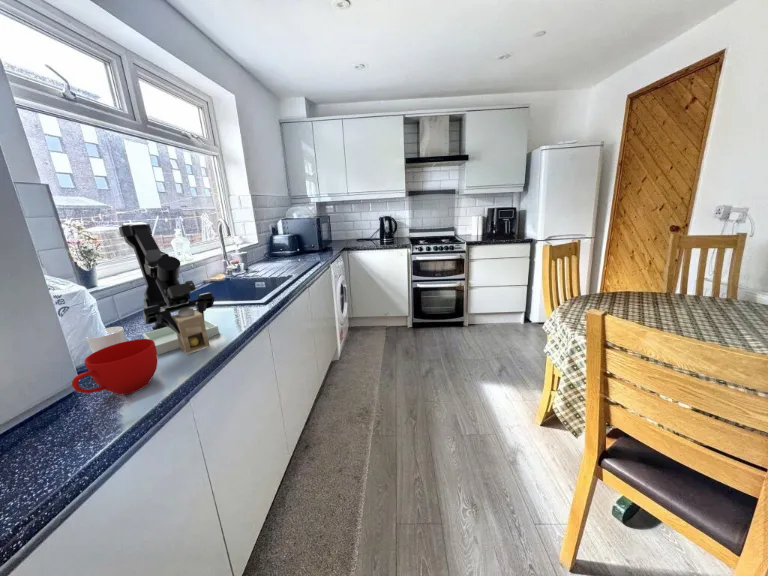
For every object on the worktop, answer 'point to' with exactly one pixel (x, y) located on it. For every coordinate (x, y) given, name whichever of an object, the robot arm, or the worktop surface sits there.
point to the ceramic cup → (121, 367)
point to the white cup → (107, 339)
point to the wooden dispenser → (191, 329)
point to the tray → (173, 337)
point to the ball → (193, 341)
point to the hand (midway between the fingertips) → (191, 329)
